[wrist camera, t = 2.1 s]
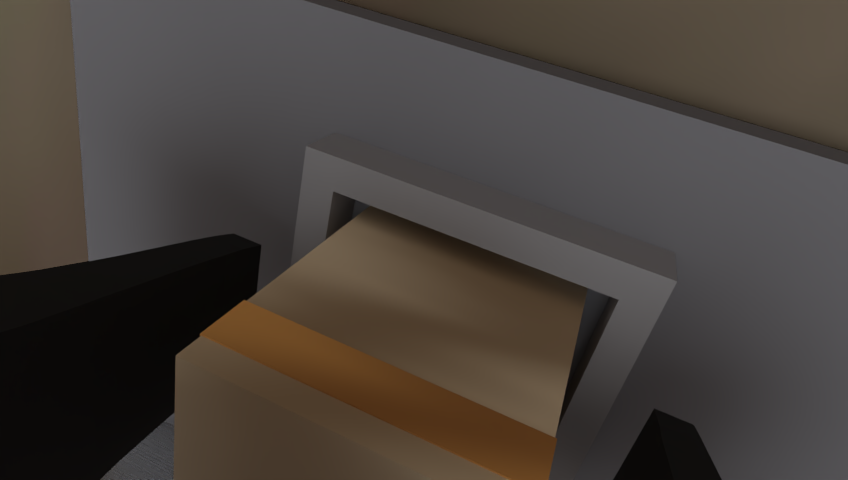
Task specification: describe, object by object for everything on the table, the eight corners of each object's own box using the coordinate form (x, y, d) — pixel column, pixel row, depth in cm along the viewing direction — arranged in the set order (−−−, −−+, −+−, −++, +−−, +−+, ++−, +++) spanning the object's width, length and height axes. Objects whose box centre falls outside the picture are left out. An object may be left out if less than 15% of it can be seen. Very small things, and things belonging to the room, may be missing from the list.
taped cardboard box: (590, 282, 9) (538, 528, 5) (517, 447, 11) (436, 727, 7) (373, 200, 10) (173, 353, 6) (340, 367, 12) (170, 573, 8)
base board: (1024, 204, 8) (1127, 265, 6) (600, 725, 15) (594, 817, 14) (109, -68, 11) (12, -77, 10) (130, 467, 19) (77, 515, 17)
